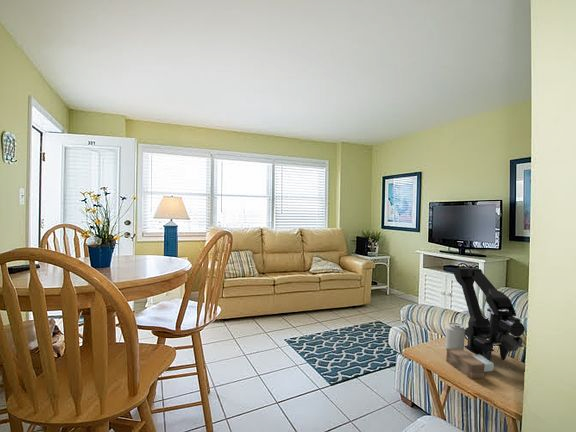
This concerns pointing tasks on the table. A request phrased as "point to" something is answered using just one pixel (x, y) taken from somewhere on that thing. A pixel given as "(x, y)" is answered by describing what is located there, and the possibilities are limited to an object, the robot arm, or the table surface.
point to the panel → (488, 364)
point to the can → (455, 336)
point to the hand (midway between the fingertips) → (495, 361)
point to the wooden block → (465, 363)
